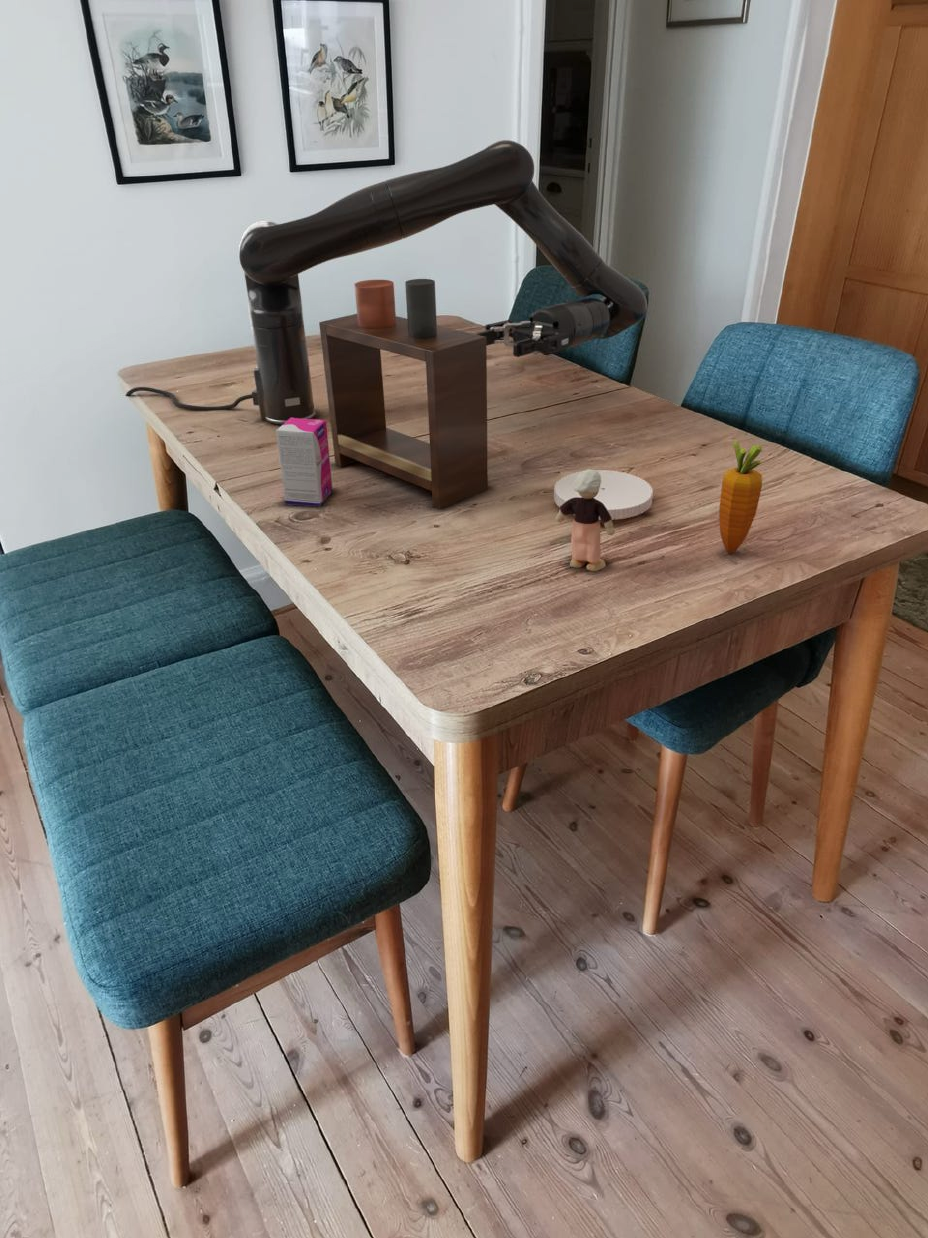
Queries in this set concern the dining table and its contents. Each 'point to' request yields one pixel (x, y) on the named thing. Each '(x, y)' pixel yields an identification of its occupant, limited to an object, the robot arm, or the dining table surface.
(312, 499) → the supplement box
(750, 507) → the carrot
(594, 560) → the grandmother figurine
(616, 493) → the plastic lid
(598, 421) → the dining table surface
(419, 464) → the spice rack
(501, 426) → the dining table surface
